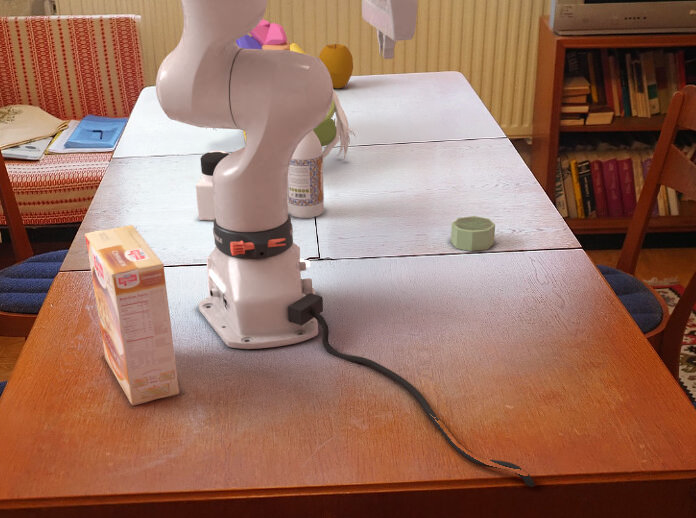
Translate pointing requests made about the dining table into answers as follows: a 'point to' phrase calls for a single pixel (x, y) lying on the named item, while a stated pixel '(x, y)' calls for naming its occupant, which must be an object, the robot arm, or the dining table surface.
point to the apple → (337, 63)
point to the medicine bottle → (207, 185)
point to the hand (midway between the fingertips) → (386, 57)
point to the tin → (472, 233)
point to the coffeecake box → (133, 313)
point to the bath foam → (306, 179)
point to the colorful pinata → (276, 39)
